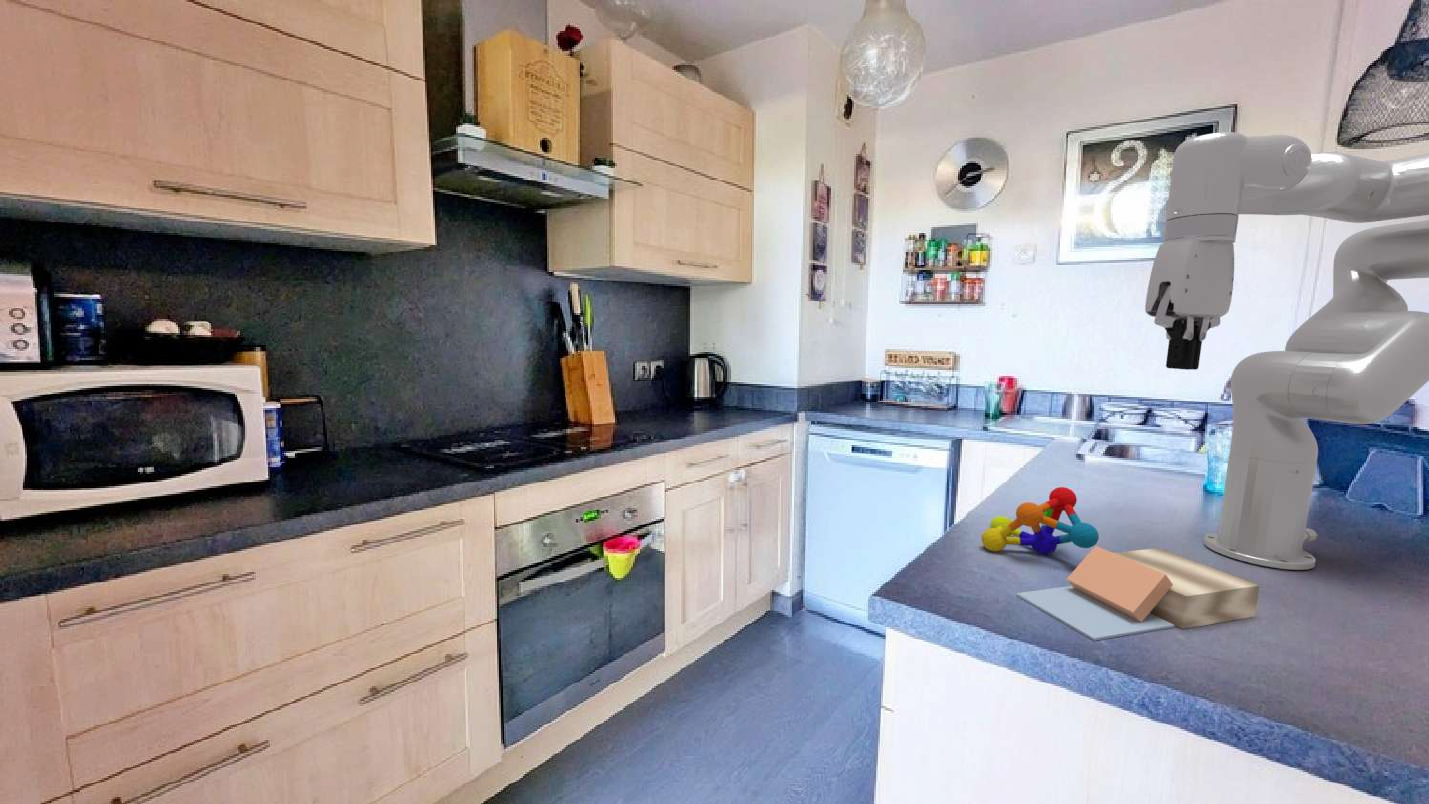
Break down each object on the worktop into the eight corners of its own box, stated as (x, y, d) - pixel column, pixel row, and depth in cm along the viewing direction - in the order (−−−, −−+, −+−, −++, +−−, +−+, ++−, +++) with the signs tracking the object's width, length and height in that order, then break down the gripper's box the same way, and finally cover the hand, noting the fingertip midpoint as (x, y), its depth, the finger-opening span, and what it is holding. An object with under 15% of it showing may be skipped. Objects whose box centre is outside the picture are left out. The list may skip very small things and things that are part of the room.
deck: (1154, 574, 80) (1158, 547, 80) (1254, 616, 69) (1259, 585, 68) (1088, 583, 77) (1091, 555, 76) (1181, 629, 66) (1186, 596, 65)
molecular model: (997, 584, 84) (1110, 556, 78) (970, 523, 85) (1080, 492, 79) (991, 549, 98) (1087, 523, 92) (968, 497, 98) (1062, 468, 92)
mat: (1088, 585, 76) (1088, 583, 76) (1174, 627, 66) (1174, 624, 66) (1016, 595, 73) (1016, 593, 73) (1093, 640, 63) (1094, 638, 63)
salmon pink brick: (1102, 555, 75) (1095, 545, 75) (1173, 584, 67) (1165, 574, 66) (1073, 588, 75) (1066, 578, 74) (1141, 622, 66) (1133, 612, 66)
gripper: (1208, 240, 82) (1191, 367, 85) (1130, 234, 78) (1115, 366, 81) (1270, 232, 75) (1250, 371, 78) (1188, 225, 71) (1169, 371, 74)
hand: (1181, 368), depth 79 cm, fingers closed
